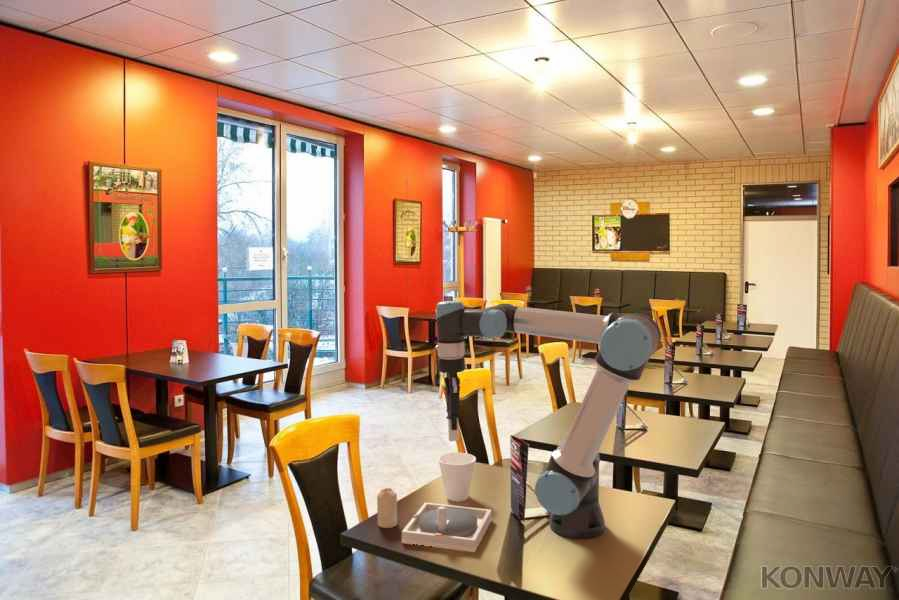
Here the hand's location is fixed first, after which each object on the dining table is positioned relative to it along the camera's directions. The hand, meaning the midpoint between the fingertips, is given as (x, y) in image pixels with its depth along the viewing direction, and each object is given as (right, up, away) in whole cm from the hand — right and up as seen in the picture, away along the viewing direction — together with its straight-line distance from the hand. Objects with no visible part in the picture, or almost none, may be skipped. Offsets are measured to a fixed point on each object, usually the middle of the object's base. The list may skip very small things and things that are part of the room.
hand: (453, 440), depth 187 cm
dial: (-2, -23, -3) cm, 24 cm away
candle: (-19, -25, +3) cm, 31 cm away
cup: (+1, -23, +22) cm, 31 cm away
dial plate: (-2, -25, -2) cm, 25 cm away
